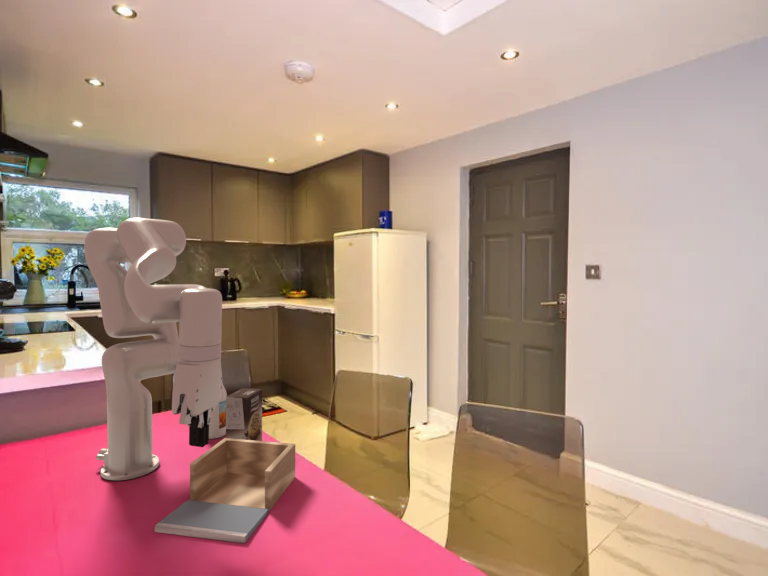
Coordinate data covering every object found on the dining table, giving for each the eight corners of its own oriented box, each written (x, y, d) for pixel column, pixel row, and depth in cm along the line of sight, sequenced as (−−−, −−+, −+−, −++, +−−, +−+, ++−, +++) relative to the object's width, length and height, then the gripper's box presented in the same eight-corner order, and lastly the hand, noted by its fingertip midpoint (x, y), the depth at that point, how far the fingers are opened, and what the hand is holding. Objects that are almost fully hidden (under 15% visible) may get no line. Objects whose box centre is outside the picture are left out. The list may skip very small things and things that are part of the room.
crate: (190, 505, 91) (189, 463, 91) (224, 474, 105) (224, 437, 105) (270, 514, 88) (270, 471, 88) (295, 481, 102) (295, 443, 102)
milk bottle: (210, 442, 124) (210, 373, 123) (194, 436, 128) (193, 369, 127) (232, 433, 131) (232, 368, 130) (216, 428, 135) (216, 364, 134)
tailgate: (188, 504, 91) (154, 531, 80) (189, 498, 91) (154, 525, 80) (269, 513, 88) (244, 543, 78) (269, 507, 88) (244, 536, 78)
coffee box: (246, 458, 114) (246, 397, 113) (224, 455, 115) (224, 396, 115) (263, 444, 123) (263, 388, 122) (242, 442, 124) (242, 386, 124)
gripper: (205, 343, 91) (203, 428, 92) (156, 359, 76) (155, 459, 78) (238, 346, 90) (236, 432, 91) (194, 363, 75) (193, 465, 76)
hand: (198, 444), depth 84 cm, fingers closed
